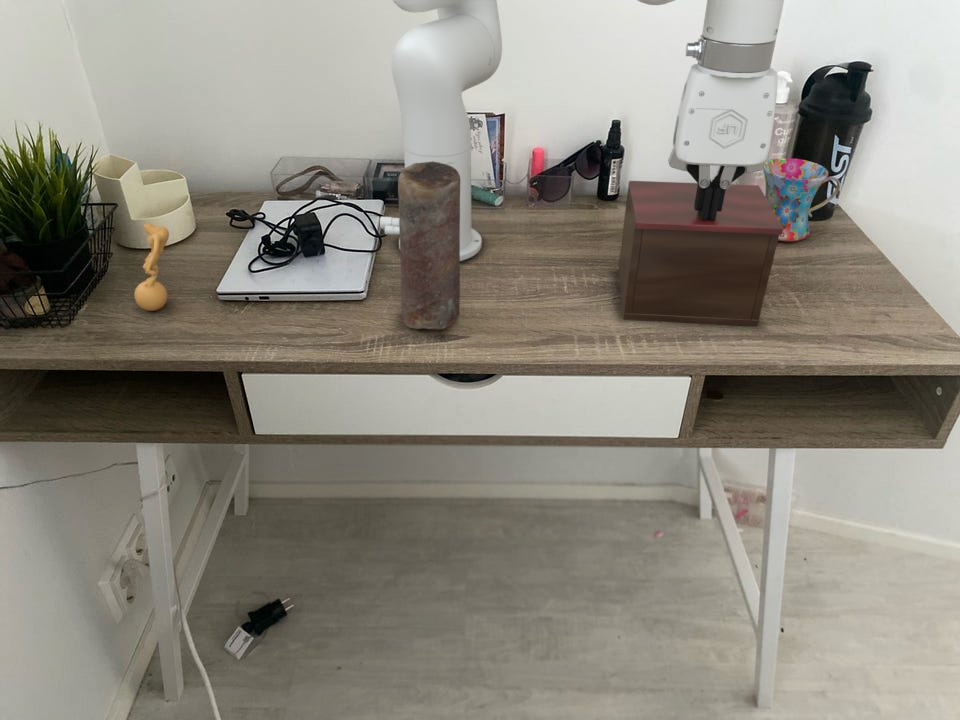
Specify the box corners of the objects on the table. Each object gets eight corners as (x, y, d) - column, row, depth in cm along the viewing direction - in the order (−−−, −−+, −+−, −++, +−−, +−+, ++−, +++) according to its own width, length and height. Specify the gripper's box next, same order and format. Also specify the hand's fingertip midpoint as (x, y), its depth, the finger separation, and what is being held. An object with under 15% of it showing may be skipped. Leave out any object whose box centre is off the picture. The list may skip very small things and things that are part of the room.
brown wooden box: (757, 326, 97) (779, 233, 90) (623, 319, 98) (635, 227, 91) (738, 278, 108) (757, 191, 100) (618, 273, 109) (628, 186, 102)
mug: (758, 246, 116) (773, 179, 110) (742, 221, 124) (755, 157, 118) (837, 247, 116) (857, 180, 110) (816, 221, 124) (833, 158, 118)
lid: (781, 235, 89) (783, 228, 88) (635, 229, 90) (636, 222, 90) (757, 191, 100) (759, 185, 100) (628, 186, 102) (628, 180, 101)
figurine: (143, 295, 103) (120, 212, 97) (189, 290, 105) (169, 208, 98) (133, 326, 97) (108, 240, 90) (183, 321, 98) (161, 235, 91)
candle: (466, 310, 100) (465, 162, 89) (455, 340, 94) (452, 185, 83) (410, 305, 101) (402, 158, 90) (395, 334, 95) (385, 181, 84)
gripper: (667, 62, 79) (645, 226, 89) (816, 65, 77) (777, 232, 88) (660, 46, 85) (640, 201, 95) (798, 49, 84) (763, 206, 94)
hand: (706, 215), depth 91 cm, fingers closed
